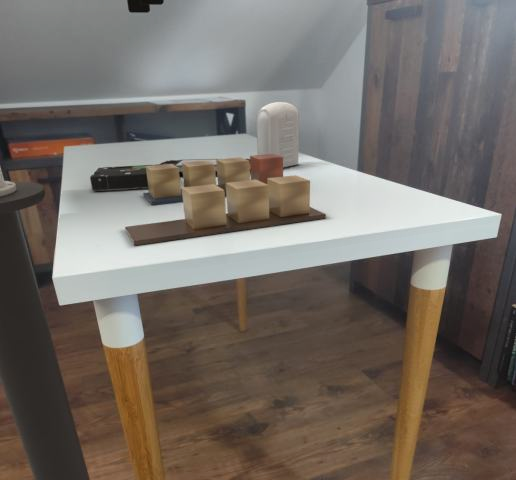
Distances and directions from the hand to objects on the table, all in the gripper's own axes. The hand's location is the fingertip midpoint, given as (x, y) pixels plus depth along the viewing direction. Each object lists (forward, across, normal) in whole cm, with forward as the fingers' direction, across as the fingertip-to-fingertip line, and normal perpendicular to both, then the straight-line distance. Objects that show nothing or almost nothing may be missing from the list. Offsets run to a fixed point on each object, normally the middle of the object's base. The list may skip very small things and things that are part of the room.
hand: (145, 8), depth 71 cm
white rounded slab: (+26, -14, +27) cm, 40 cm away
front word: (+26, +23, +3) cm, 35 cm away
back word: (+26, +3, +8) cm, 28 cm away
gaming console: (+26, -16, +12) cm, 33 cm away
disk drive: (+26, -12, -3) cm, 29 cm away
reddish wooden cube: (+26, +3, +17) cm, 31 cm away
